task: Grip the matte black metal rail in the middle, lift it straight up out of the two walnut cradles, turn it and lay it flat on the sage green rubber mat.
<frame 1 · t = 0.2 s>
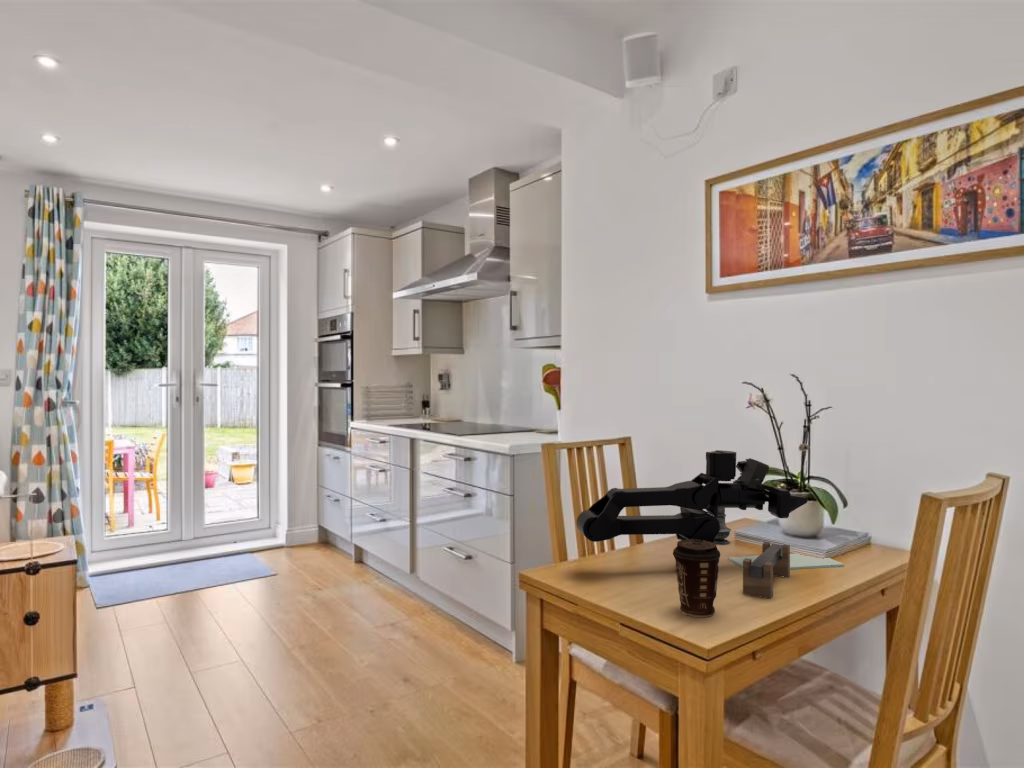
hand: (795, 495, 148), 16 cm above the table, tool horizontal, fingers open, 9 cm apart
black rail: (767, 565, 135), point 4 cm above the table, touching walnut cradles
dark grey chess piece: (719, 542, 169), on the table
walnut cradles: (767, 584, 135), on the table
coffee cup: (697, 612, 119), on the table
sage mat: (784, 562, 150), on the table
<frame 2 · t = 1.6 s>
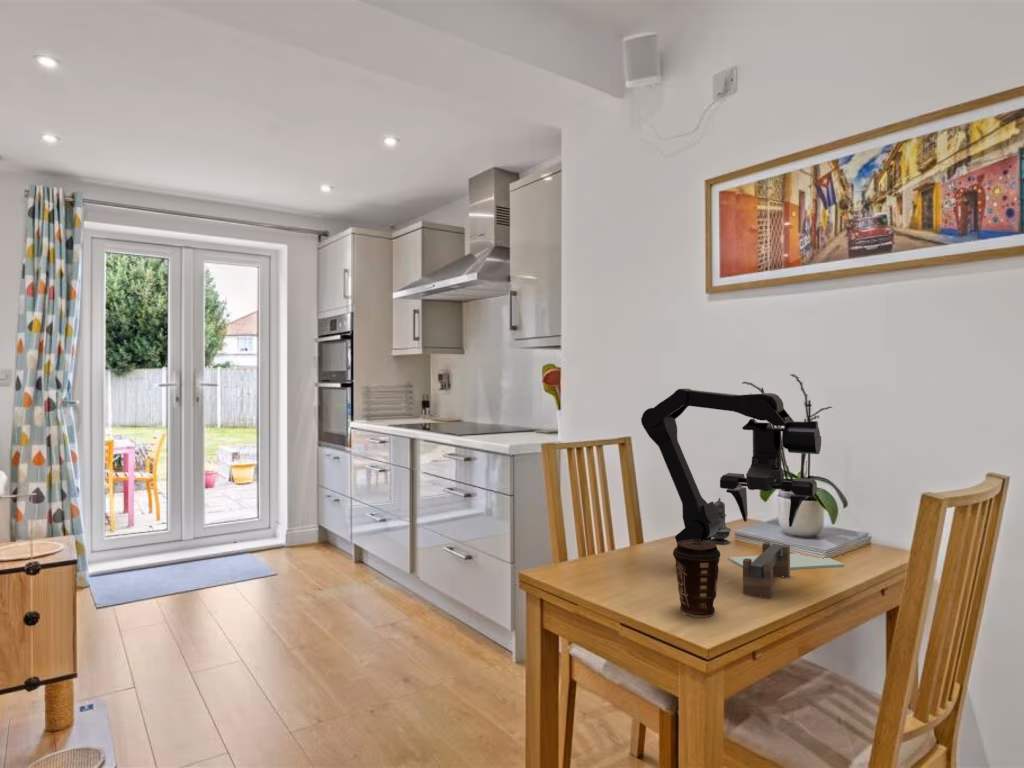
hand: (767, 523, 135), 13 cm above the table, tool pointing down, fingers open, 9 cm apart
nothing on the table moved.
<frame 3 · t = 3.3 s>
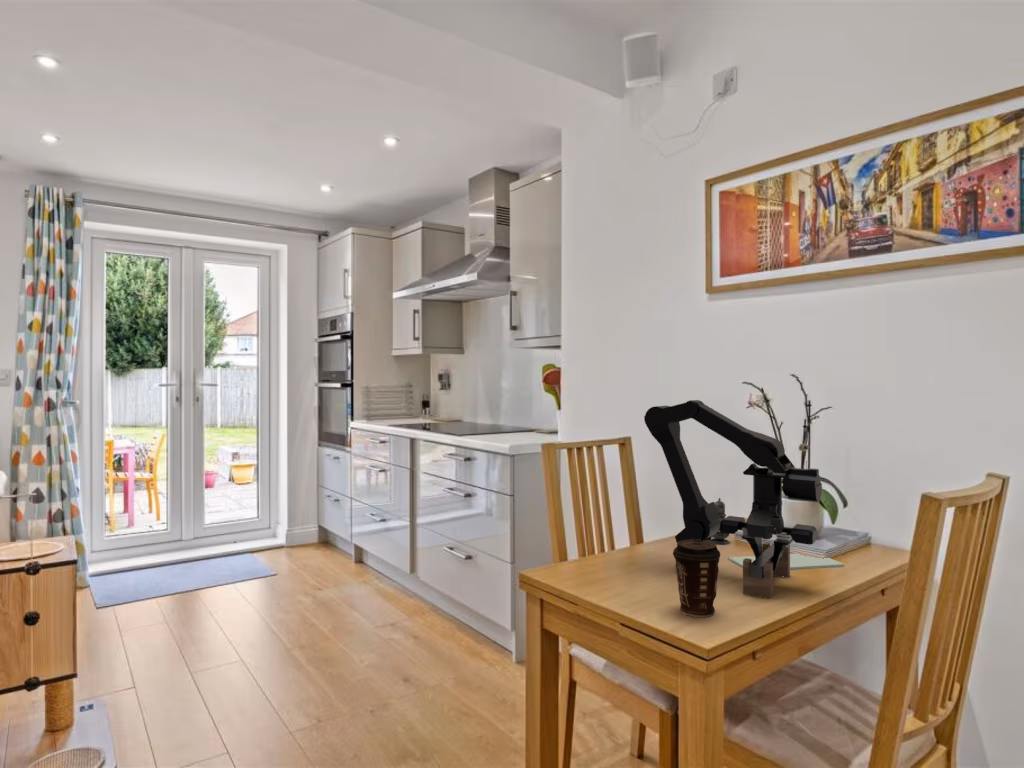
hand: (767, 569, 135), 3 cm above the table, tool pointing down, fingers closed on black rail, 2 cm apart
black rail: (767, 565, 135), point 4 cm above the table, touching gripper, walnut cradles
everything else where it was.
when the fingers open (1 cm above the table, at t = 7.5 s): black rail drops 2 cm, resting on sage mat.
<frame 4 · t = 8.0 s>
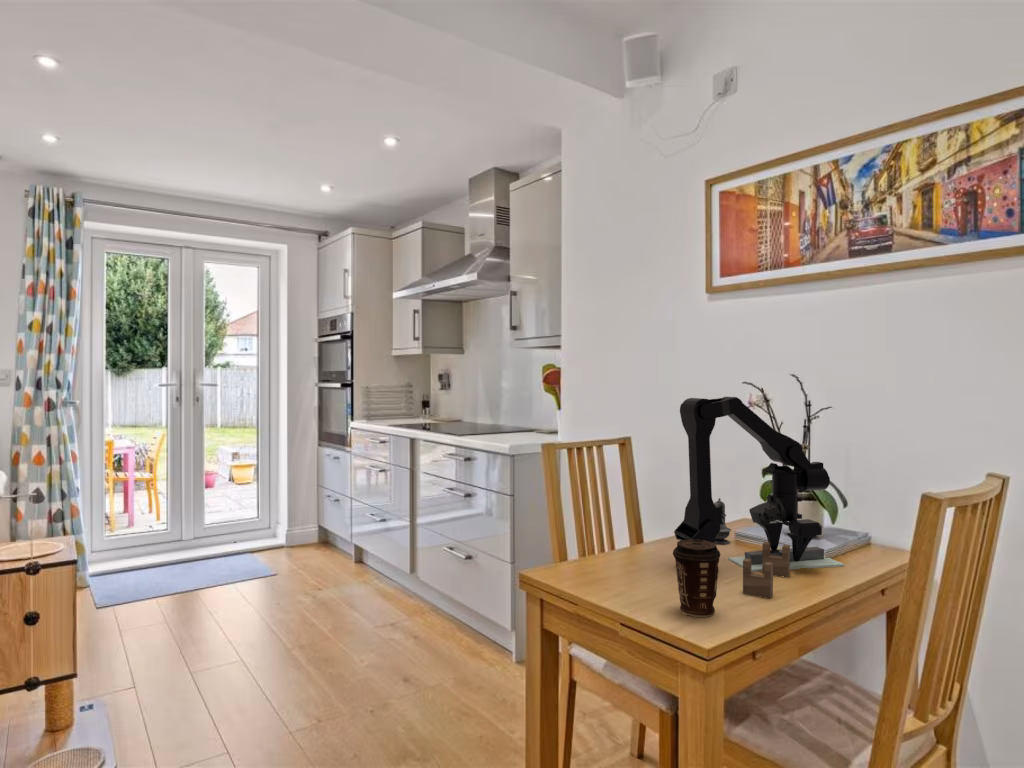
hand: (784, 556, 150), 1 cm above the table, tool pointing down, fingers open, 8 cm apart
black rail: (784, 560, 150), resting on sage mat
everything else where it was.
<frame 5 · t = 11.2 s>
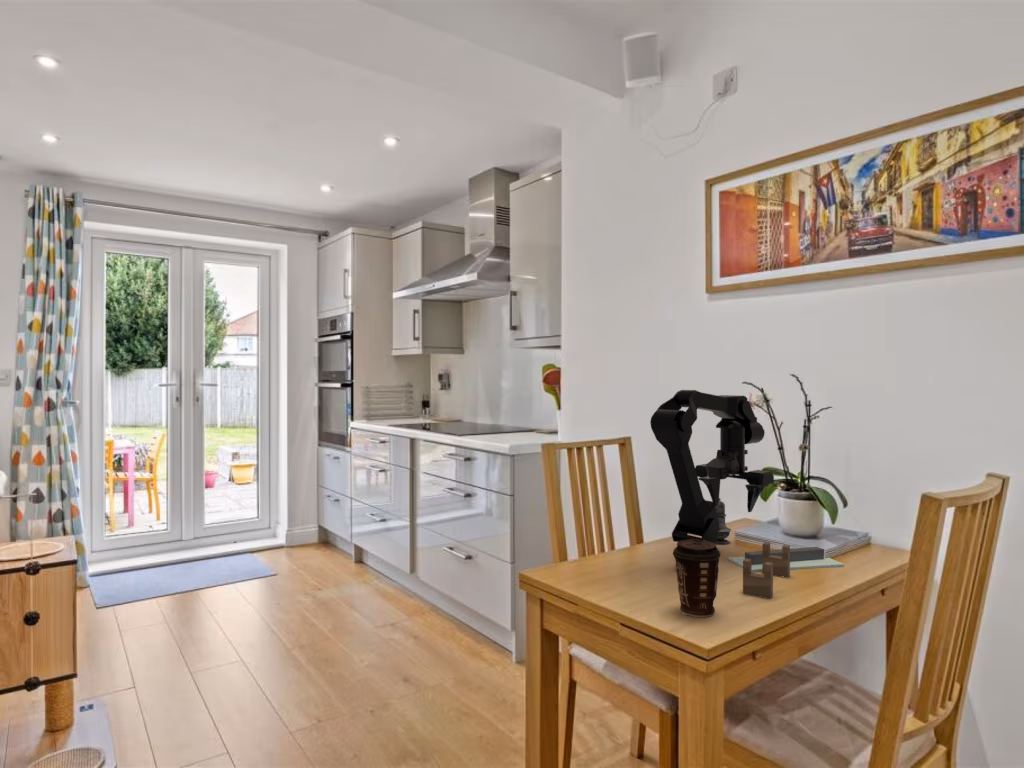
hand: (732, 508, 155), 12 cm above the table, tool pointing down, fingers open, 9 cm apart
nothing on the table moved.
at the end: black rail inside the target area on the sage mat (0.1 cm from its centre), point 0.5 cm above the sage mat's base; the gripper is holding nothing; black rail touching sage mat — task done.
